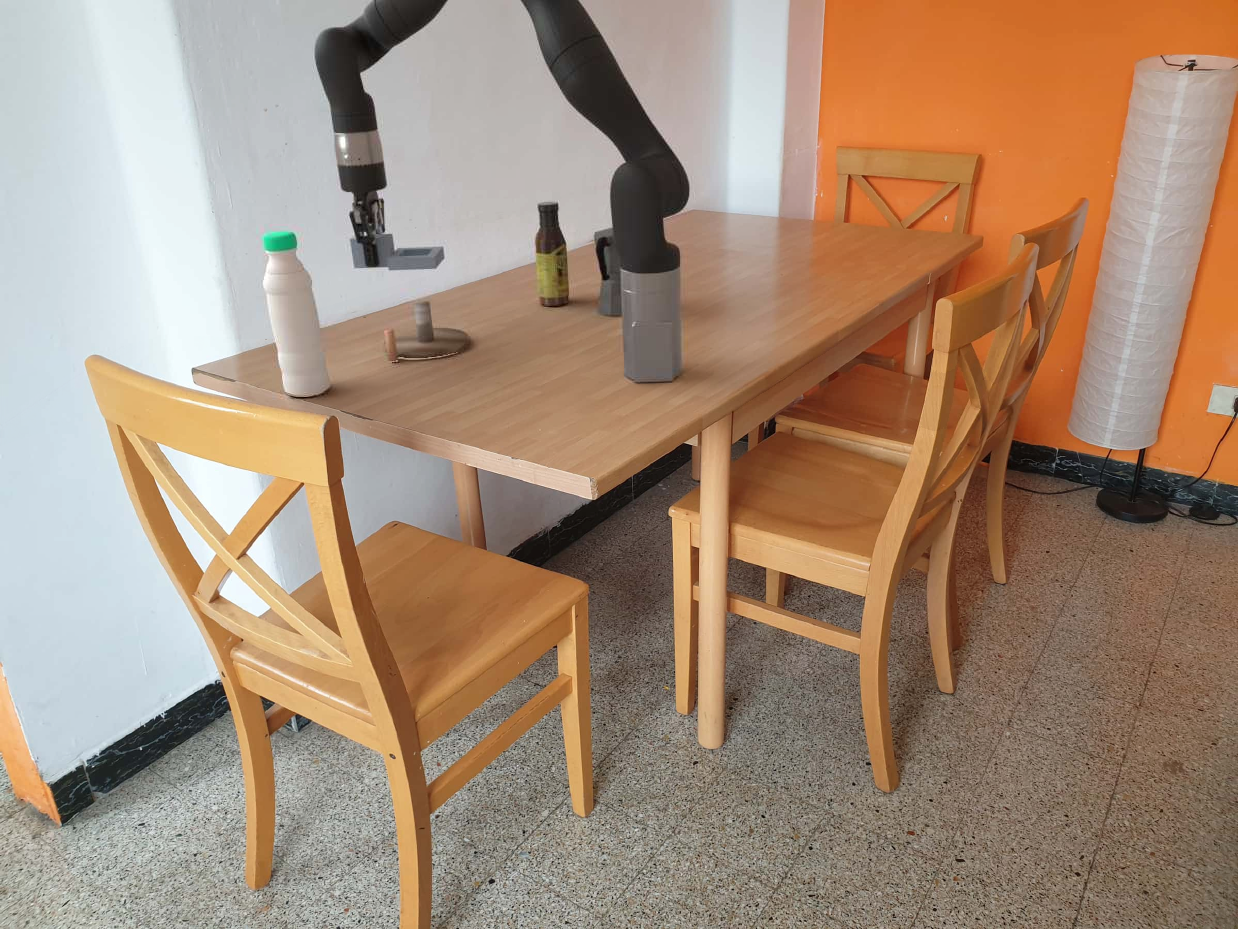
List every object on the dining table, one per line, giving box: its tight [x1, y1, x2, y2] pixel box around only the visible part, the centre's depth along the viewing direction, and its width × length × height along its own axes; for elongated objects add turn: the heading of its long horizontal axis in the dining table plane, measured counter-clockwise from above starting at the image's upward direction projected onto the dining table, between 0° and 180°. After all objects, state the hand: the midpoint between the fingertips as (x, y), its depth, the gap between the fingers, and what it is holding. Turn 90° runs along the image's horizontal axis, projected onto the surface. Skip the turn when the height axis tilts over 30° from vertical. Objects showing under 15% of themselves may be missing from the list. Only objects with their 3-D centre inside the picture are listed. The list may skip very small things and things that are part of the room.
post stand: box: [383, 300, 470, 358], centre depth 169 cm, size 15×15×8 cm
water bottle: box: [262, 230, 331, 395], centre depth 147 cm, size 7×7×25 cm
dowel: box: [383, 328, 399, 362], centre depth 163 cm, size 2×2×6 cm
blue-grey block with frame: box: [349, 233, 445, 271], centre depth 164 cm, size 14×8×5 cm, turn 89°
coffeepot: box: [593, 227, 622, 318], centre depth 182 cm, size 15×9×18 cm, turn 156°
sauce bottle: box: [534, 201, 570, 307], centre depth 190 cm, size 6×6×20 cm
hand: (375, 263), depth 165 cm, fingers closed on blue-grey block with frame, 3 cm apart
